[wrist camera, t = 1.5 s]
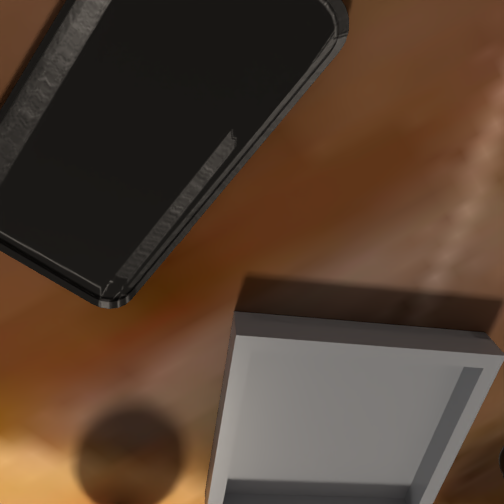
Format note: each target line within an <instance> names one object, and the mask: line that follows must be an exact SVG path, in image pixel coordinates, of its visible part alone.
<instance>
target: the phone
mask: <svg viewBox="0 0 504 504" xmlns="http://www.w3.org/2000/svg"><path fill="white" fill-rule="evenodd" d="M348 31H349V17H348V13H347V10H346V7H345V5H344V4H343V2H342V1H341V0H66V2H65V4H64V5H63V7H62V9H61V10H60V12H59V14H58V15H57V17H56V19H55V20H54V22H53V24H52V25H51V27H50V29H49V30H48V32H47V34H46V35H45V37H44V39H43V40H42V42H41V44H40V45H39V47H38V49H37V50H36V52H35V54H34V55H33V57H32V59H31V60H30V62H29V64H28V65H27V67H26V69H25V70H24V72H23V74H22V75H21V77H20V79H19V80H18V82H17V84H16V85H15V87H14V89H13V90H12V92H11V93H10V95H9V97H8V98H7V100H6V102H5V103H4V105H3V107H2V108H1V110H0V251H2V252H4V253H5V254H7V255H9V256H10V257H12V258H14V259H16V260H17V261H19V262H21V263H22V264H24V265H26V266H28V267H29V268H31V269H33V270H35V271H36V272H38V273H40V274H41V275H43V276H45V277H47V278H48V279H50V280H52V281H54V282H55V283H57V284H59V285H60V286H62V287H64V288H66V289H67V290H69V291H71V292H73V293H74V294H76V295H78V296H79V297H81V298H83V299H85V300H86V301H88V302H90V303H92V304H94V305H96V306H98V307H101V308H108V309H111V308H118V307H121V306H123V305H125V304H127V303H128V302H129V301H130V300H131V299H132V298H133V297H134V296H135V295H136V293H137V292H138V291H139V290H140V289H141V287H142V286H143V285H144V284H145V283H146V281H147V280H148V279H149V278H150V277H151V275H152V274H153V273H154V272H155V271H156V270H157V268H158V267H159V266H160V265H161V264H162V263H163V261H164V260H165V259H166V258H167V257H168V255H169V254H170V253H171V252H172V251H173V249H174V248H175V247H176V246H177V244H178V243H180V242H181V241H182V239H183V238H184V237H185V236H186V235H187V233H188V232H189V231H190V230H191V228H192V227H193V225H194V224H195V223H196V222H197V221H198V219H199V218H200V217H201V216H202V215H203V214H204V212H205V211H206V210H207V209H208V208H209V206H210V205H211V204H212V203H213V202H214V200H215V199H216V198H217V197H218V196H219V194H220V193H221V192H222V191H223V190H224V189H225V187H226V186H227V185H228V184H229V183H230V181H231V180H232V179H233V178H234V177H235V175H236V174H237V173H238V172H239V171H240V169H241V168H242V167H243V166H244V165H245V163H246V162H247V161H248V160H249V159H250V158H251V156H252V155H253V154H254V153H255V152H256V150H257V149H258V148H259V147H260V146H261V144H262V143H263V142H264V141H265V140H266V138H267V137H268V136H269V135H270V134H271V133H272V131H273V130H274V129H275V128H276V127H277V125H278V124H279V123H280V122H281V121H282V119H283V118H284V117H285V116H286V115H287V113H288V112H289V111H290V110H291V109H292V108H293V106H294V105H295V104H296V103H297V102H298V100H299V99H300V98H301V97H302V96H303V94H304V93H305V92H306V91H307V90H308V88H309V87H310V86H311V85H312V84H313V82H314V81H315V80H316V79H317V78H318V77H319V75H320V74H321V73H322V72H323V71H324V69H325V68H326V67H327V66H328V65H329V63H330V62H331V61H332V60H333V59H334V57H335V56H336V55H337V54H338V53H339V51H340V50H341V48H342V47H343V45H344V43H345V41H346V38H347V35H348Z"/></svg>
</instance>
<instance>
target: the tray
mask: <svg viewBox="0 0 504 504" xmlns="http://www.w3.org/2000/svg"><path fill="white" fill-rule="evenodd" d="M503 361H504V353H503V352H502V351H501V350H500V349H499V347H498V346H497V345H496V344H495V343H494V342H493V341H492V340H491V338H490V337H489V336H488V335H487V334H486V333H485V332H475V331H463V330H451V329H439V328H427V327H415V326H403V325H391V324H380V323H368V322H356V321H344V320H332V319H320V318H308V317H296V316H284V315H272V314H260V313H249V312H237V311H234V315H233V321H232V328H231V334H230V340H229V346H228V353H227V359H226V365H225V371H224V377H223V384H222V390H221V396H220V402H219V408H218V415H217V421H216V427H215V433H214V439H213V446H212V452H211V458H210V464H209V470H208V477H207V483H206V489H205V504H433V502H434V500H435V498H436V496H437V494H438V492H439V490H440V488H441V486H442V484H443V482H444V480H445V478H446V476H447V474H448V472H449V470H450V468H451V466H452V464H453V462H454V460H455V458H456V456H457V454H458V452H459V450H460V447H461V445H462V443H463V441H464V439H465V437H466V435H467V433H468V431H469V429H470V427H471V425H472V423H473V421H474V419H475V417H476V415H477V413H478V411H479V409H480V407H481V405H482V403H483V401H484V399H485V397H486V395H487V393H488V391H489V389H490V387H491V385H492V383H493V381H494V379H495V377H496V375H497V373H498V371H499V369H500V367H501V365H502V363H503Z"/></svg>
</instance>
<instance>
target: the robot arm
mask: <svg viewBox="0 0 504 504" xmlns="http://www.w3.org/2000/svg"><path fill="white" fill-rule="evenodd" d="M499 466H500V469H501V472H502V475H503V477H504V447H503V448H502V450H501V452H500V455H499Z"/></svg>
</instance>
